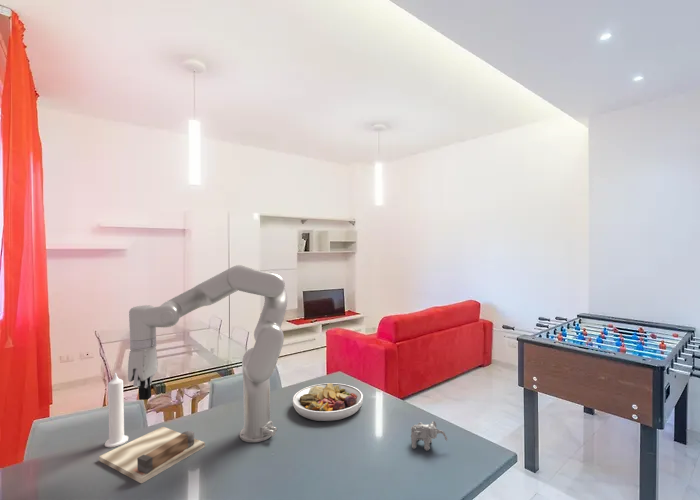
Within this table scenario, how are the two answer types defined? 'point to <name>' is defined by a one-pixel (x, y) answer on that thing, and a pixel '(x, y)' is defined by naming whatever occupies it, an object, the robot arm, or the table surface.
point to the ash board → (129, 452)
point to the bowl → (327, 401)
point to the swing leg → (165, 452)
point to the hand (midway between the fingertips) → (145, 398)
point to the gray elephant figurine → (425, 434)
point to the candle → (116, 413)
